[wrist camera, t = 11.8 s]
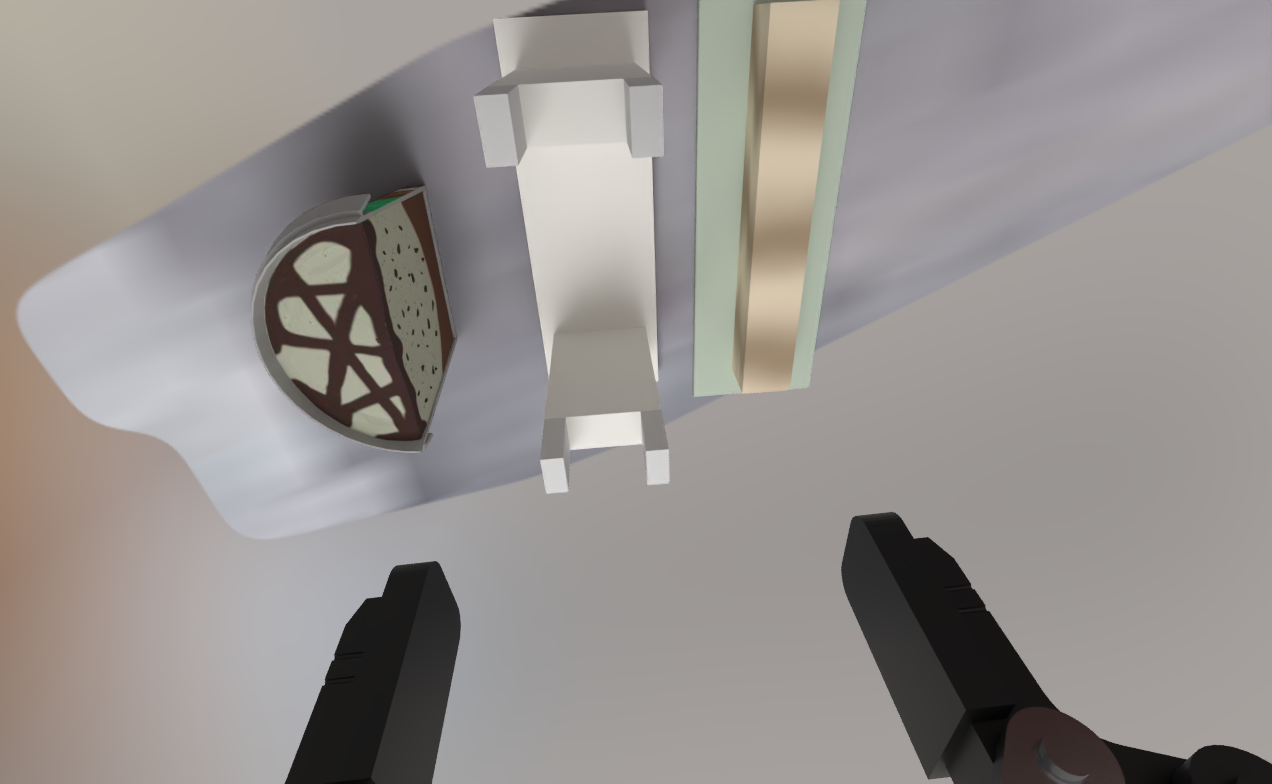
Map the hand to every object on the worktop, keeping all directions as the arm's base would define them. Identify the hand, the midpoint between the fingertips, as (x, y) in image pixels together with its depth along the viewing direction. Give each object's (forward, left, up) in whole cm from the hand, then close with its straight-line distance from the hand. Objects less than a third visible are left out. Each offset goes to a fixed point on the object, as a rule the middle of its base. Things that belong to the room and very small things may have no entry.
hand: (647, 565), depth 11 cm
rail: (+1, +9, -24) cm, 26 cm away
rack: (+1, -1, -25) cm, 25 cm away
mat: (+1, +9, -25) cm, 26 cm away
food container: (+2, -13, -25) cm, 28 cm away
